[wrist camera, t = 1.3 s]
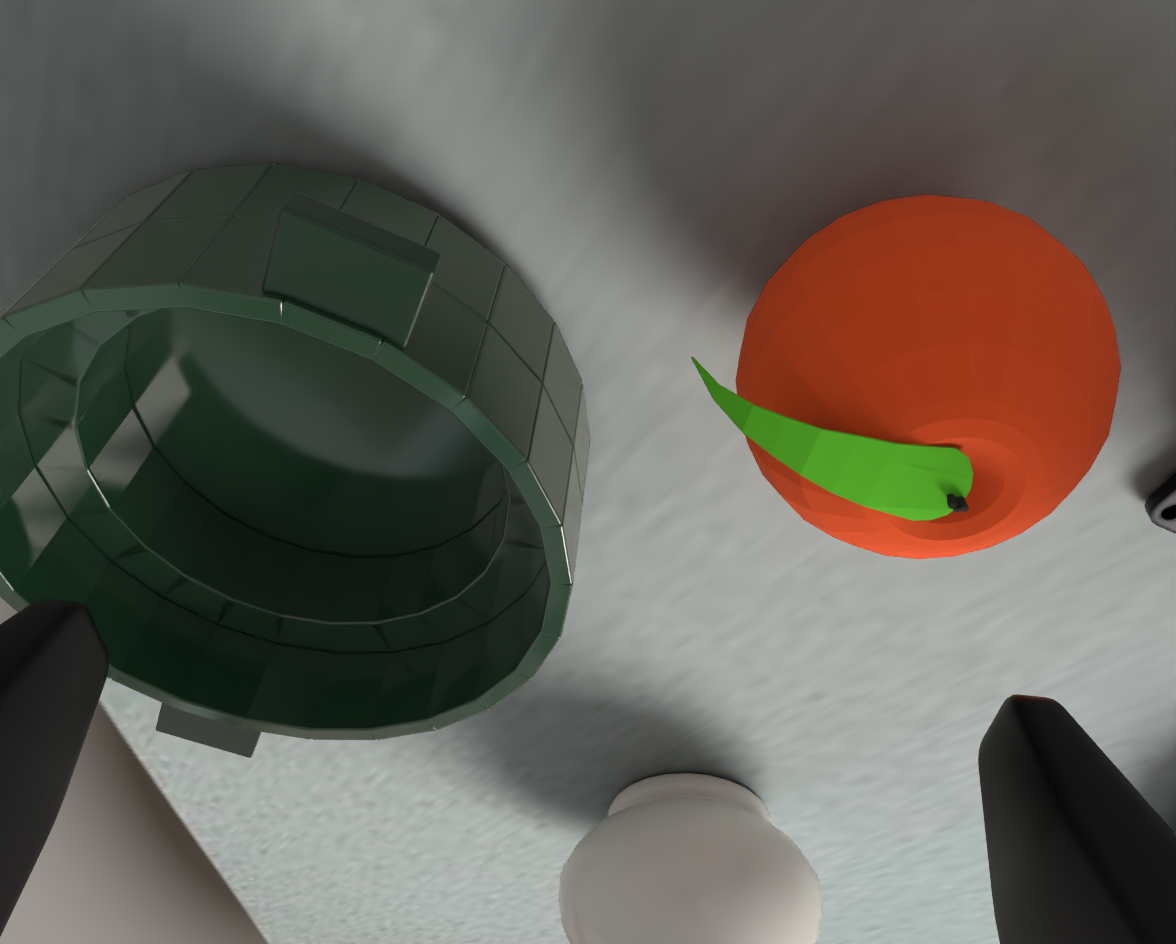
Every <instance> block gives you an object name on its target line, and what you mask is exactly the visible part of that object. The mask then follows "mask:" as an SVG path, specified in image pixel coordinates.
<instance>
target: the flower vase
mask: <svg viewBox="0 0 1176 944" xmlns="http://www.w3.org/2000/svg"><path fill="white" fill-rule="evenodd" d="M559 907H560V914H561V920H562V925H563V928H564V931H565V933H566V936H567V938H568V940H569V942H570V944H816V943H817V941H818V938H819V934H820V929H821V923H822V915H823V904H822V895H821V888H820V882H819V879H818V877H817V874H816V872H815V871H814V869H813V868H812V866H811V865H810V863H809V862H808V860H807V859H806V857H805V856H804V855H803V853H802V852H801V850H800V849H799V848H798V846H797V845H796V844H795V843H794V842H793V841H792V840H791V839H790V838H789V837H788V836H787V835H786V834H785V833H783V832H782V831H781V830H779V829H778V828H776V827H775V826H774V825H772V824H771V819H770V814H769V811H768V809H767V808H766V807H765V805H764V804H763V802H762V801H761V799H760V798H759V797H757V796H756V795H755V794H753V793H752V792H751V791H749V790H748V789H747V788H745V787H743V786H741V785H738V784H736V783H734V782H732V781H729V780H726V779H722V778H718V777H714V776H710V775H702V774H692V773H679V774H664V775H660V776H655V777H650V778H646V779H644V780H641V781H639V782H636V783H634V784H631V785H630V786H628V787H627V788H626V789H624V790H623V791H621V792H620V793H619V794H617V796H616V797H615V799H614V800H613V802H612V803H611V805H610V807H609V809H608V816H607V818H606V819H605V820H603V821H602V822H600V823H599V824H598V825H596V826H595V827H593V828H592V829H591V830H590V831H589V832H588V833H586V834H585V835H584V837H583V838H582V839H581V840H580V841H579V842H578V844H577V846H576V847H575V849H574V850H573V852H572V853H571V855H570V856H569V858H568V859H567V861H566V862H565V864H564V866H563V869H562V871H561V876H560V886H559Z"/></svg>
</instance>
